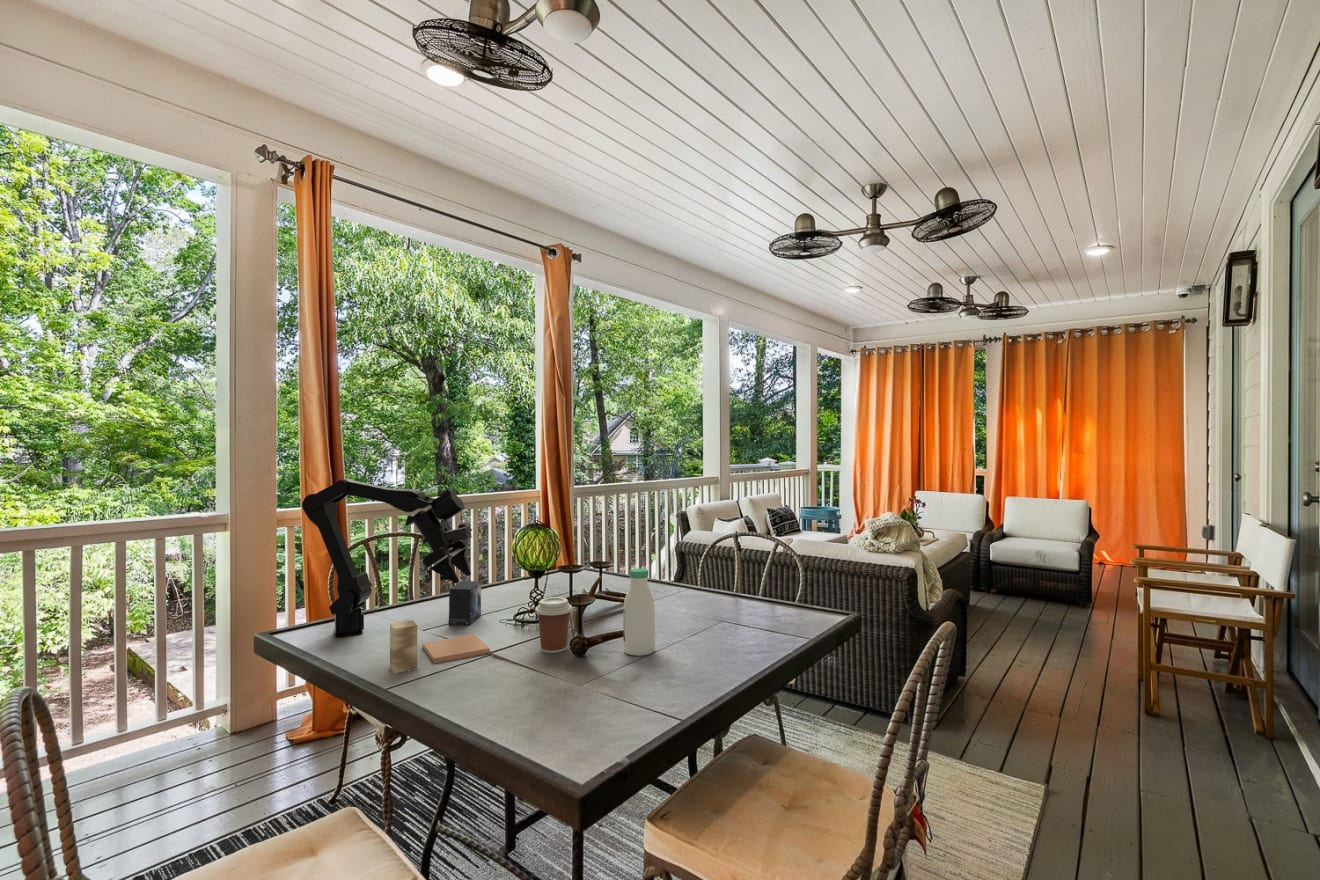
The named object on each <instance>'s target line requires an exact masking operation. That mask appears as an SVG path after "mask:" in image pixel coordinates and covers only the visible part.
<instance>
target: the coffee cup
mask: <svg viewBox="0 0 1320 880" xmlns="http://www.w3.org/2000/svg"><path fill="white" fill-rule="evenodd" d="M534 610H535V614H537V617H538V630H539V639H540V640H539V641H540V651H541V652H543V653H546V654H558V653H557V652H559V653H562V652H561V651H563V652H564V650H565V651H566V650H567V649H568V635H569V623H570V613H571V612H572V611H573V606H572V605H571V604H570V603H569V600H568V599H567V598H565V597H560V596H559V597H558V596H553V597H551V596H550V597H546V598H542V599H541V600H539V604H538V605H537V606H535V608H534ZM566 648H567V649H566Z"/></svg>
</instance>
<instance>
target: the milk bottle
mask: <svg viewBox="0 0 1320 880" xmlns="http://www.w3.org/2000/svg"><path fill="white" fill-rule="evenodd" d="M629 580H630V583H629V586H628V587H629V588H628V590H627V593H626V595H625V598H624V602H623V623H622V624H623V626H622V627H623V638H622V639H623V640H622V641H623V652H624V653H625V654H627V655H629V654H630V655H629V656H635V655H636V657H637V656H638V657H641V656H642V655H643V656H648V655H651V654H653V653H654V652H655V650H656V649H655V648H656V622H655V621H656V612H655V600H654V596H653V594H652V591H651V590H650V587H649V582H648V580H649V570H648V569H647V568H642V567H641V568H638V567H637V568H631V569H630V570H629ZM652 652H653V653H652Z"/></svg>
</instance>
